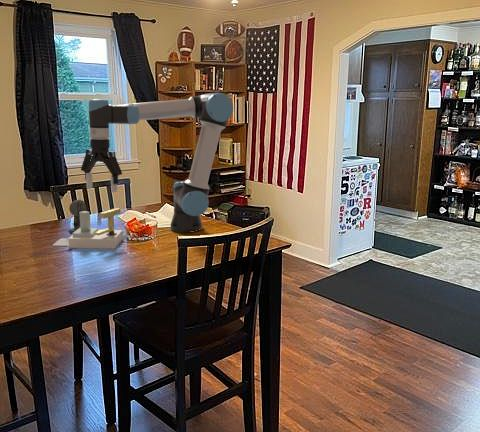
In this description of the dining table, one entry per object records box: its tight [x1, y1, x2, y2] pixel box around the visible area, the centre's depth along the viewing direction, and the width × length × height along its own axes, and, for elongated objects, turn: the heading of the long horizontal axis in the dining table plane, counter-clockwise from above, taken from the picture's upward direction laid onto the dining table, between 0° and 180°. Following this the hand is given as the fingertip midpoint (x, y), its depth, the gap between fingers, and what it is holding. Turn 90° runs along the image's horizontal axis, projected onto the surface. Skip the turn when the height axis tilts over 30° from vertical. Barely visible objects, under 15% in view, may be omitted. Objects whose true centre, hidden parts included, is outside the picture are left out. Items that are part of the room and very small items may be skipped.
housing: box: [68, 229, 124, 249], centre depth 201 cm, size 19×14×4 cm
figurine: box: [67, 199, 87, 235], centre depth 216 cm, size 9×10×15 cm
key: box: [95, 207, 122, 235], centre depth 198 cm, size 14×2×10 cm, turn 153°
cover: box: [72, 210, 99, 237], centre depth 200 cm, size 8×9×10 cm
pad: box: [51, 237, 69, 247], centre depth 202 cm, size 8×10×1 cm
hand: (101, 190), depth 196 cm, fingers open, 13 cm apart
